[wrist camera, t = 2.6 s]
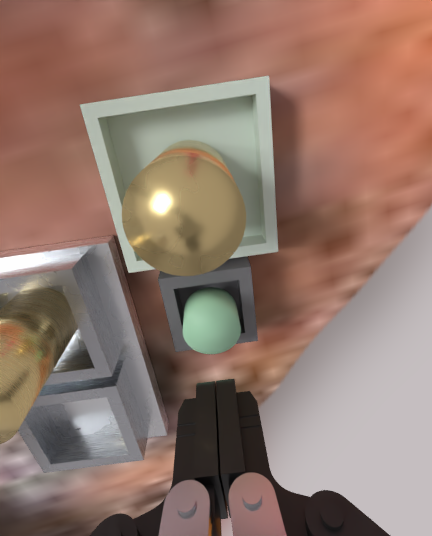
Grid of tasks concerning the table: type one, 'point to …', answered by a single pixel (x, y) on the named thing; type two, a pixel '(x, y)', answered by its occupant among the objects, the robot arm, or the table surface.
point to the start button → (211, 321)
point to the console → (224, 277)
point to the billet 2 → (184, 211)
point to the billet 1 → (30, 350)
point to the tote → (191, 128)
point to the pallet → (88, 359)
